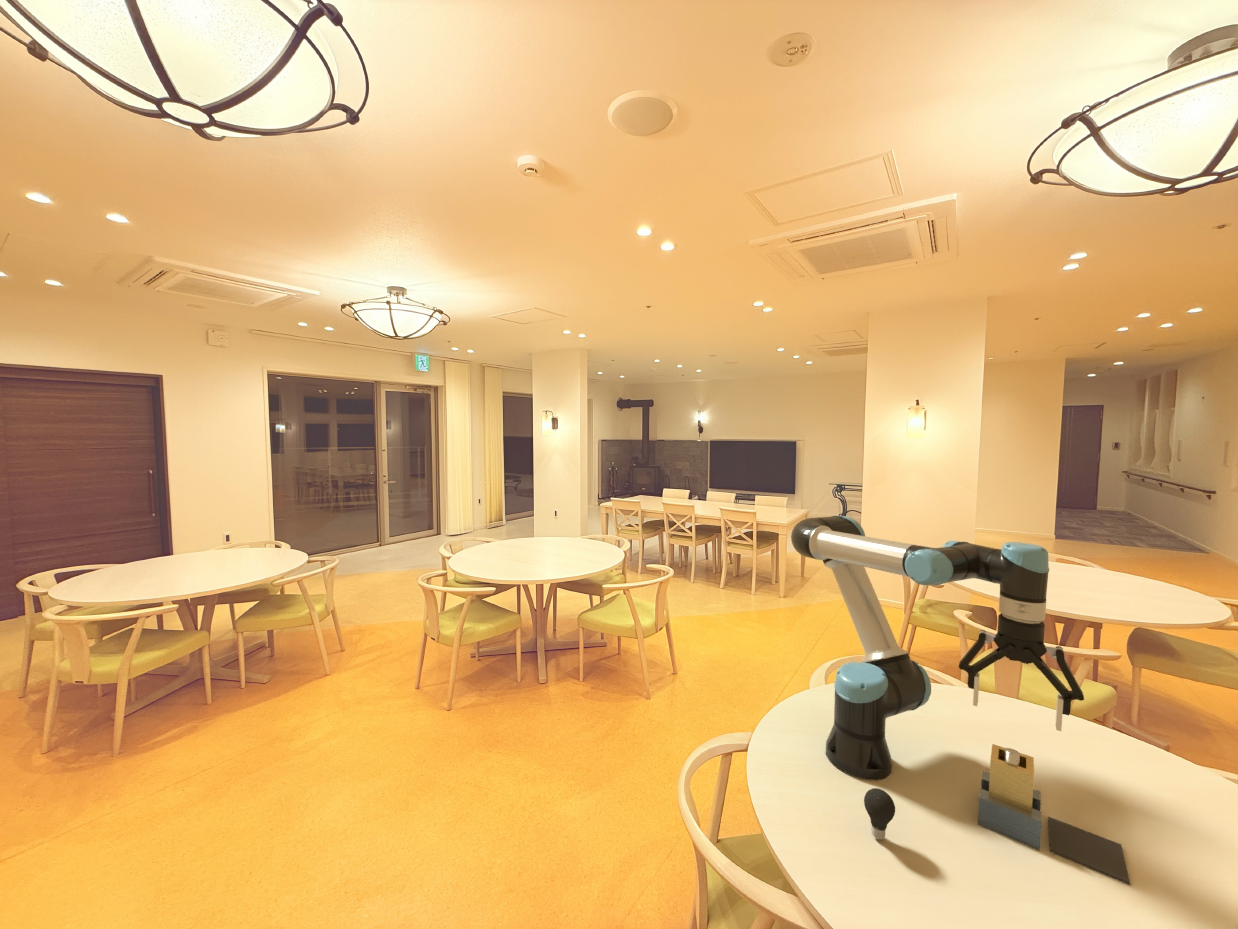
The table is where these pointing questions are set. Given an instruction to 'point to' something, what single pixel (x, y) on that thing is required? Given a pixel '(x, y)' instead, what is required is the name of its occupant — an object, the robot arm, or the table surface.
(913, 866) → the table surface
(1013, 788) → the open wooden box
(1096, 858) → the mat
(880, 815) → the light bulb
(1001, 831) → the vise
